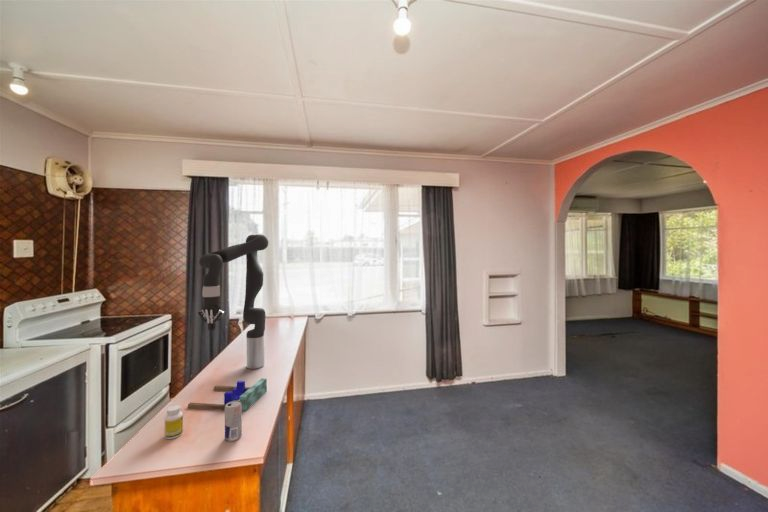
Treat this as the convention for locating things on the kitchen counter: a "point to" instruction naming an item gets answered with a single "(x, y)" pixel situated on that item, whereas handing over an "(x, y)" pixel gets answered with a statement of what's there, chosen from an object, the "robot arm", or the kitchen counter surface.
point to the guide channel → (246, 398)
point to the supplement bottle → (173, 422)
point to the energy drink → (233, 421)
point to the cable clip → (235, 393)
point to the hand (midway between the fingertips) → (211, 330)
